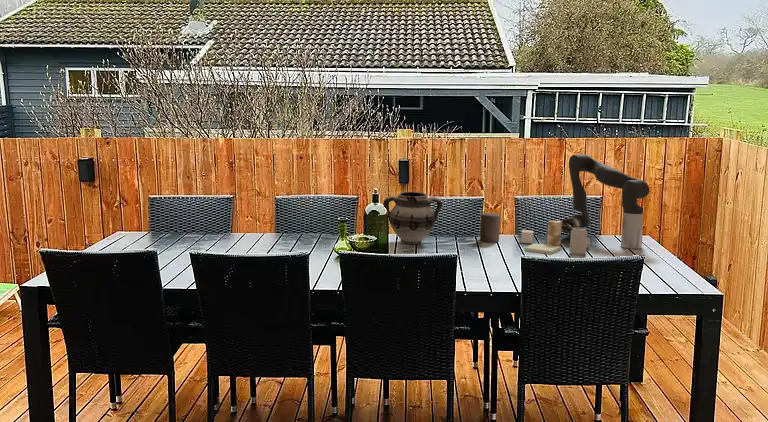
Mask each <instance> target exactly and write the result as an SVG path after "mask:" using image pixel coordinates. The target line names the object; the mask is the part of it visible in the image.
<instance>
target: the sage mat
mask: <svg viewBox="0 0 768 422" xmlns="http://www.w3.org/2000/svg"><path fill="white" fill-rule="evenodd" d="M561 249H562V248H561V246H551V245H547V244H542V243H531V244H530V245H527V246H526V247H525V246H524V252H532V253H539V254H545V255H552V254H555V253H557V252H559V251H561Z"/></svg>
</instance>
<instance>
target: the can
mask: <svg viewBox="0 0 768 422" xmlns="http://www.w3.org/2000/svg"><path fill="white" fill-rule="evenodd" d="M572 229H573V230H572V231H571V233H570V241H569V253H570V254H571V255H575V256H584V255H585V254H586V253H587V249H586V246H587V238H588V231H587V228H572Z"/></svg>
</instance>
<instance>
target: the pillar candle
mask: <svg viewBox="0 0 768 422" xmlns="http://www.w3.org/2000/svg"><path fill="white" fill-rule="evenodd" d="M500 226H501V214H499V213H494V212H491V211H490V212H483V213H481V214H480V231H479V241H480V242H483V243H489V244H491V243H493V244H495V243H496V244H497V243H499V241H500V228H501V227H500Z"/></svg>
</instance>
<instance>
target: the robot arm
mask: <svg viewBox="0 0 768 422" xmlns="http://www.w3.org/2000/svg"><path fill="white" fill-rule="evenodd" d="M568 170H569V176H570V181H571V185H572V186H571V187H572V205H573V206H572V208H573V210H575V211H579V212H581V214H573V215H571V216H570V217H568V218H565V219H563V220H561V221H562V225H561V233H564V234H567V235H568V234H571V231H572V230H573V229H572V228H584V229H587V228H589V227H590V225H591V217H590V215H589V211H588V205H587V203H588V202H587V199H588V197H587V192H586V190H585V187H584V186H583V184H582V183H583V182H582V181H581V178H580V172H586V173H590V174H592V175H594V177H595V179H596V180H597V181H598V182H600V183H601V184H603V185H605V186H608V187H611V188H616V189H622V191H621V192H622V194H621V195H622V196H621V205H622V206H621V207H622V209H623V210H622V212H623V213H622V223H621V224H622V225H621V236H620V237H621V238H620V247H621V248H624V249H632V250H640V249H641V248H642V245H643V232H644V228H643V221H644V220H643V218H644V207H642V206H641V205H639V204H638V199H639V200H640V199H644V198H646V197H648V195H649V193H650V186H649V185H648V183H647V182H646V181H645V180H643V179H640V178H636V177H633V176H630V175H628V174H627V173H624V172H622V171H620V170H618V169H616V168H614V167H611V166H609V165H607V164H604V163H602V162H599V161H598V160H596V159H594V158H593V157H592V156H590V155H587V154H572V155H571V156H570V157H569V160H568Z"/></svg>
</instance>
